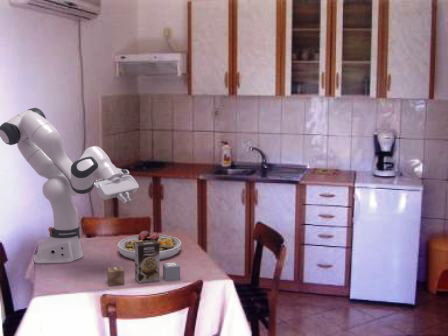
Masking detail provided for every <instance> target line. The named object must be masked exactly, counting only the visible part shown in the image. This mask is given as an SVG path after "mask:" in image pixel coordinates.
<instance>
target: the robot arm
mask: <svg viewBox="0 0 448 336" xmlns="http://www.w3.org/2000/svg"><path fill="white" fill-rule="evenodd" d="M44 113H45V112H43V111H42V109H40V108H38V107H33V108H29V109H27V110H25V111H22V112H20V113H18V114H16V115H15V116H13V117H12V118H10V119H9V120H7V121H6V122H3V123H2V124H0V139H1V140H2V141H3V142H4V143H5V144H6V145H9V146H15V145H17V148H18V150H19V152H20V154H21V155H22V157H23V158H24V159H25V161H26V162H27V163H28V164H29V166H30V167H31V168H32V169H33V170H34V171H35V173H36V174H37V175H39V176H40V177H43V178H45V179H47V181H45V182H44V183H43V185H42V194H43V196H44V198H46V200H48V201H49V204H50V205H51V209H52V214H53V227H52V226H50V227H48V232H49V236H47V238H45V240H43V241H42V242H41V243H40V244H39V245H38V247H37V253H34V255H33V256H32V262H34V263H35V264H63V263H64V264H65V263H67V264H68V263H72V262H74V261H76V260H79V259H81V258H83V257H84V253H83V250H82V245H81V241H80V240H81V239H80V238H81V228H80V225H79V224H80V223H79V210H78V208H77V207H75V205H74V203H73V197H74V196H76V195H78V194H79V195H85V194H88V193H90V192H91V191H93V189H94V187H95V191H96V192H97V194H98V196H99V198H100V199H101V200H103V201H106V200H109V199H114V198H117V199H118V200H119V201H121V202H122V203H123V204H129V203H131V201H132V200H131V198H130V194H133V193H136V192H137V191H138V190H139V188H140V185H139V184H138V183H139V182H137V180H136V179H135V178H134V176H132V175H131V174H130V171H129V170H128V169H123V168H119V167H116V165H115V164H113V163H112V161H111V158H110V157H109V155H108V154H107V153H106V152H105V150H103V149H102V148H101V147H100V146H97V145H94V146H89V147H87V148H86V149H85V150H84V151H83V152H82V153H83V154H82V155H81V157H79V158H78V159H77V160H75V161H74V162H73V161H72V160H71V158H69V156H68V155H67V152H66V150H65V148H64V147H65V146H64V143H63V139H62V135H61V134H60V132H59V131H58V130H57V128H56V127H55V126H54V125H53V124H52V123H51V122H50V121H49V120H48V119H47V118H46V115H45V114H44ZM95 178H97V179H96V180H95Z"/></svg>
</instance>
